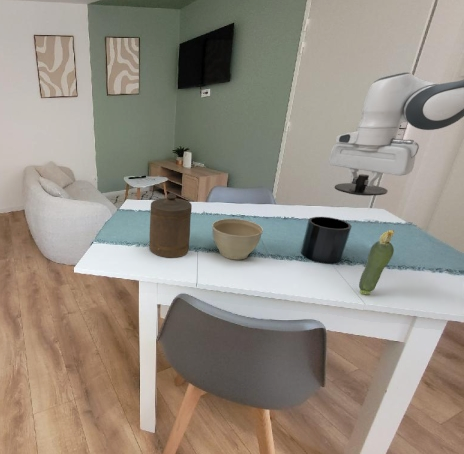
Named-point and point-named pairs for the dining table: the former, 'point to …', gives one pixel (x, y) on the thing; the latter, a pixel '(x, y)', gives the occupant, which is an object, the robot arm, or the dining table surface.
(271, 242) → the dining table surface
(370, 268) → the vegetable
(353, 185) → the bin lid
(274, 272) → the dining table surface
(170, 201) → the wooden container
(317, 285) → the dining table surface
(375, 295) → the dining table surface
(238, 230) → the planter bowl
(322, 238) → the trash can
